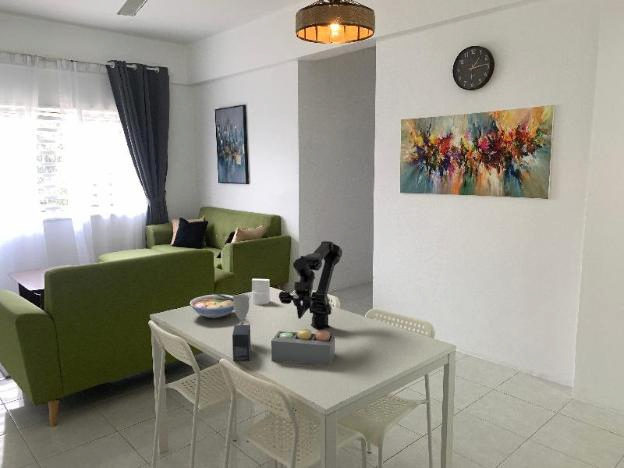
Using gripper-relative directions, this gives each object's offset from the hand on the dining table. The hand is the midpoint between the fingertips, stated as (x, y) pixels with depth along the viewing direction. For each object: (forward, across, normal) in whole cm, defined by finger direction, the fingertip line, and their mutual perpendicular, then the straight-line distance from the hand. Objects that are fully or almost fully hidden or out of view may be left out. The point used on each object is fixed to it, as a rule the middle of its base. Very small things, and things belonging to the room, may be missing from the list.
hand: (299, 318), depth 186 cm
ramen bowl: (-12, -49, +30) cm, 59 cm away
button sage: (+10, -4, +2) cm, 10 cm away
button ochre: (+8, +3, +1) cm, 9 cm away
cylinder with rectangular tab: (-31, -36, +50) cm, 68 cm away
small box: (+17, -20, +1) cm, 26 cm away
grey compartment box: (+14, +4, +4) cm, 15 cm away
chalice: (+6, -26, +13) cm, 29 cm away
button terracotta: (+8, +10, +1) cm, 13 cm away
